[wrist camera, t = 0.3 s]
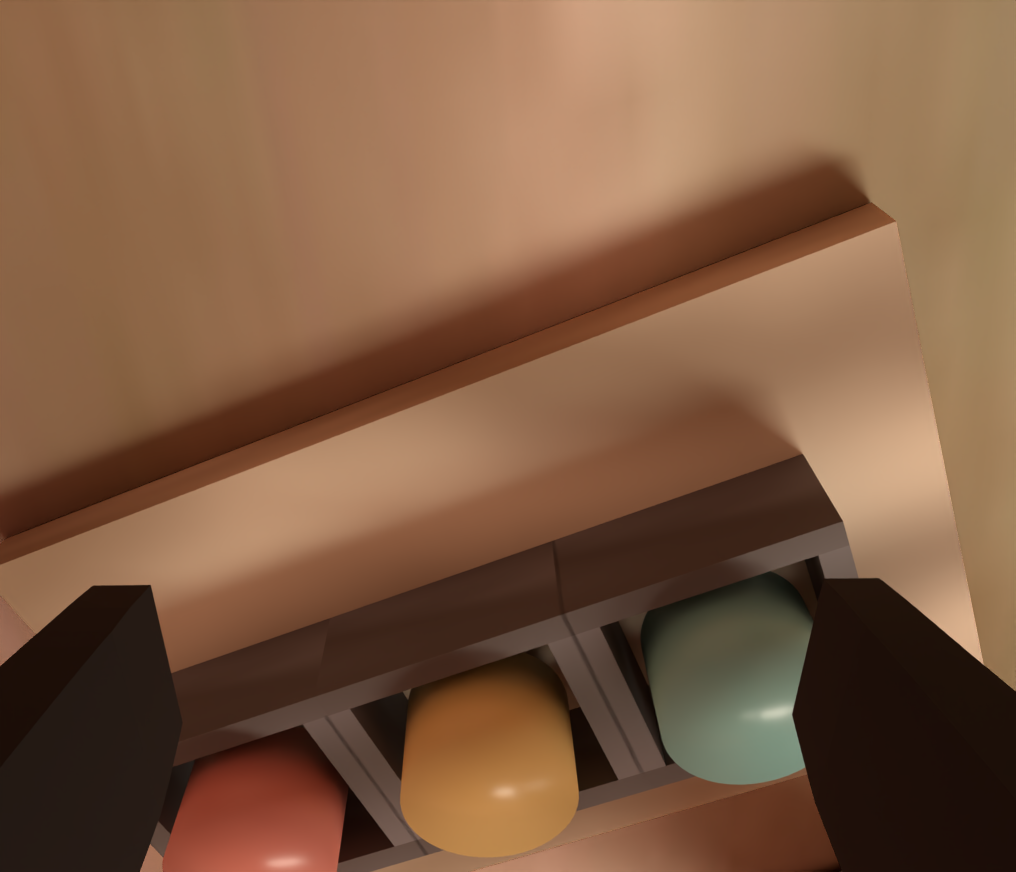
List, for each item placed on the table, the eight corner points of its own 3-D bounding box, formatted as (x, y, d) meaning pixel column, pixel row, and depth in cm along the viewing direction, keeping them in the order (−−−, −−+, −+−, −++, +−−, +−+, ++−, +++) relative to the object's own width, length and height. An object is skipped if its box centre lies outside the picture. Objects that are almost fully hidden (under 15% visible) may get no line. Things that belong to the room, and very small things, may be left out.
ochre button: (590, 735, 21) (603, 829, 19) (447, 778, 22) (444, 874, 20) (532, 626, 20) (540, 716, 17) (380, 677, 20) (368, 770, 18)
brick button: (375, 800, 22) (365, 897, 20) (244, 840, 23) (220, 940, 21) (303, 702, 20) (283, 797, 18) (163, 749, 21) (127, 846, 19)
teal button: (824, 662, 20) (865, 753, 18) (668, 710, 21) (691, 803, 19) (786, 542, 19) (826, 627, 16) (617, 598, 19) (635, 686, 17)
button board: (972, 685, 24) (1045, 800, 21) (302, 883, 28) (280, 1008, 25) (871, 202, 18) (956, 266, 15) (4, 539, 21) (-78, 650, 18)
